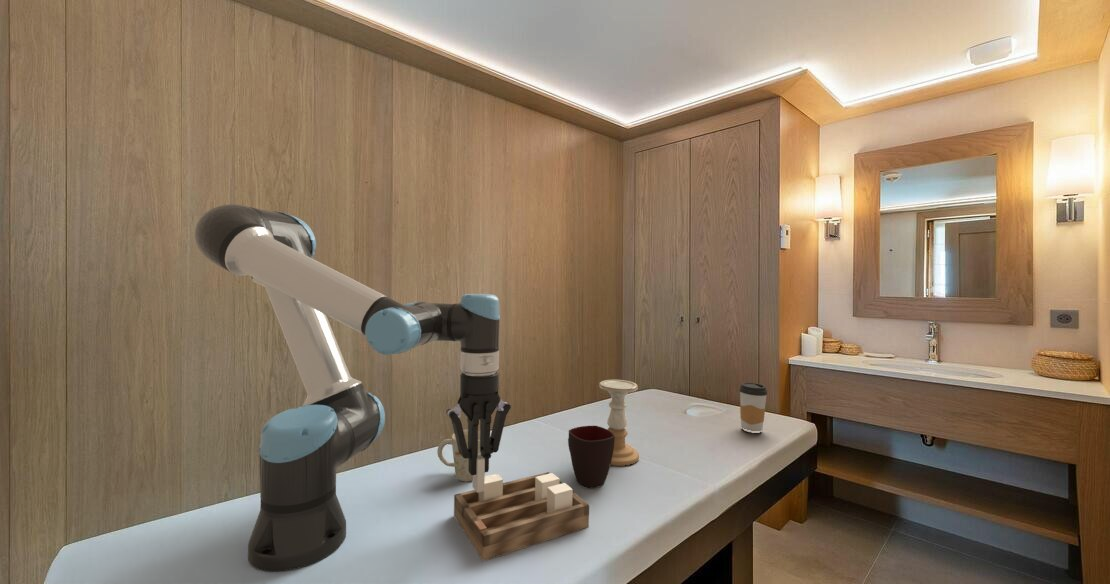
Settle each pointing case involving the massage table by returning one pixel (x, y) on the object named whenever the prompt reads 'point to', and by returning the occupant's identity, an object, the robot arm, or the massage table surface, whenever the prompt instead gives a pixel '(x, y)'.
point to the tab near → (559, 497)
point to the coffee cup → (752, 406)
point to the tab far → (491, 488)
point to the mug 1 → (458, 457)
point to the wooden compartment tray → (515, 518)
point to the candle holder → (619, 420)
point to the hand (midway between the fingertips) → (478, 488)
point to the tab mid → (544, 485)
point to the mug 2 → (591, 454)
